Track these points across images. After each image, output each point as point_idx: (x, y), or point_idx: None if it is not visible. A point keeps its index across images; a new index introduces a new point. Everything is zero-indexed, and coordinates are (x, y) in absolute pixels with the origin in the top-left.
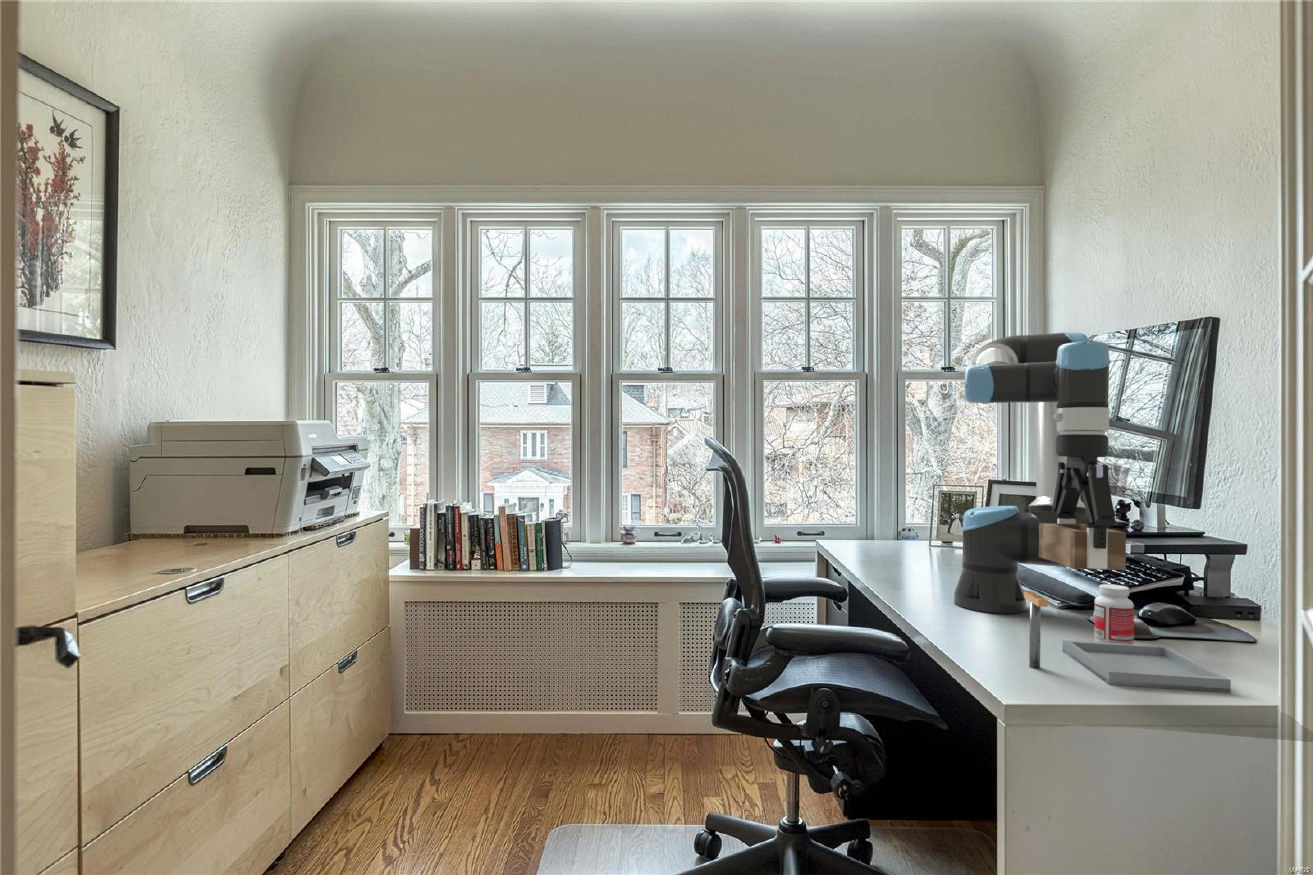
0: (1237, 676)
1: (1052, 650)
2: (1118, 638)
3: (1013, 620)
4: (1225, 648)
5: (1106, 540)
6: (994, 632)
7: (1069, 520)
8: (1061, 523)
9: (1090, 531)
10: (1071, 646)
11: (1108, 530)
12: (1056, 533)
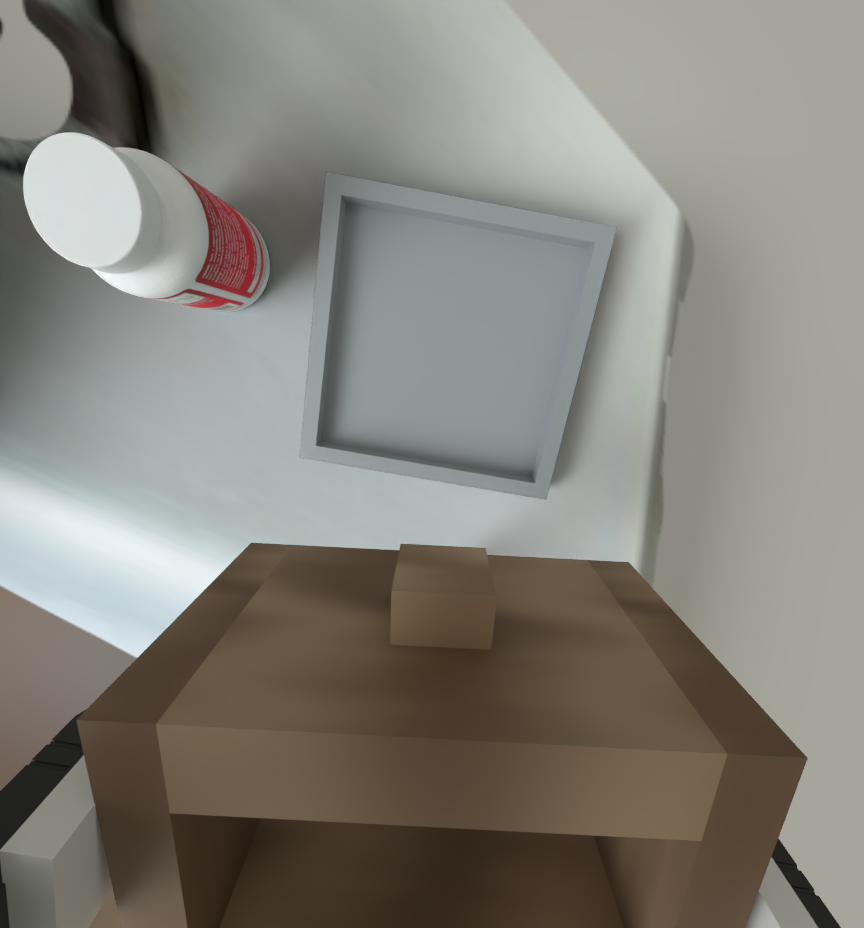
0: (488, 93)
1: (304, 471)
2: (258, 275)
3: (14, 418)
4: None
5: (809, 884)
6: (164, 533)
7: (68, 890)
8: (96, 896)
9: None
10: (353, 466)
11: (633, 812)
12: None
